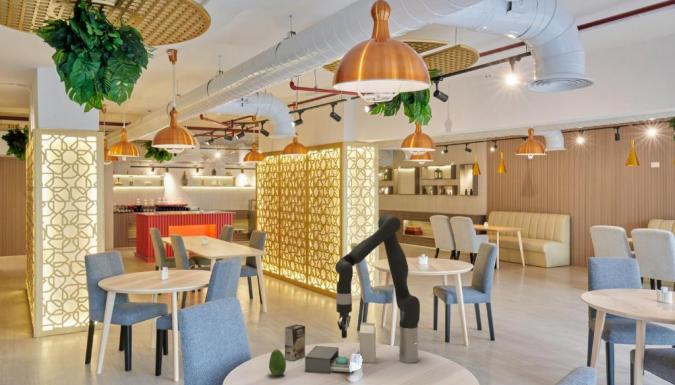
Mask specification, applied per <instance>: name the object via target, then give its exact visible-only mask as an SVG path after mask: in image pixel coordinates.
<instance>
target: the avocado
mask: <svg viewBox="0 0 675 385" xmlns="http://www.w3.org/2000/svg"><path fill="white" fill-rule="evenodd" d="M269 357H270V358H269V361H268V369H269V372H270V373H271V374H272V375H273V376H277V377H278V376H282V375H284V373H285V372H286V368H287V362H286V361H287V360H286V359H285V355H284V354H283V353H282V351H281V350H279V349H274V350H273V351H271V354H270V356H269Z"/></svg>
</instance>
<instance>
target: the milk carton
mask: <svg viewBox="0 0 675 385" xmlns="http://www.w3.org/2000/svg"><path fill="white" fill-rule="evenodd" d="M376 335H377V332H376V323H374V322H360V327H359V356H360V355H361V356H362V359H363V362H362V363H368V364H374V363H375V360H376V356H377V354H376V353H377V352H376V351H377V350H376V348H377V346H376V342H377V340H376V339H377V338H376V337H377V336H376Z"/></svg>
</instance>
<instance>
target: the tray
mask: <svg viewBox="0 0 675 385" xmlns="http://www.w3.org/2000/svg"><path fill="white" fill-rule="evenodd" d="M353 354H359V355H360V349H356V350H355V351H354V352H353ZM351 358H352V356H351V357H350V358H348V364H347V365H337V364H336V358H334V359H333V360H332V362H331V363H330V370H331V372H332V371H333V372H344V373H349V372H350V371H349V365H350V361H351Z"/></svg>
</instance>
